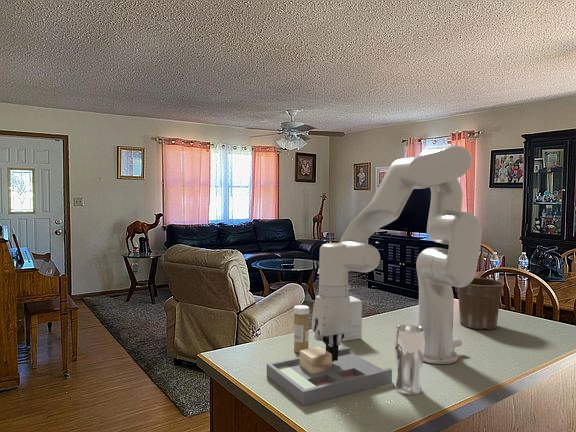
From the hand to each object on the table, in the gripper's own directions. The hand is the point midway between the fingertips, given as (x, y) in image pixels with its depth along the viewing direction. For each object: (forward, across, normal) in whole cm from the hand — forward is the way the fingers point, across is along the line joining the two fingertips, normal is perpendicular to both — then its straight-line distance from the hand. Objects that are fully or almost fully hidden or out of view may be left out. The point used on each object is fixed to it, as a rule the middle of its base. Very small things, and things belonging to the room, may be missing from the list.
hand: (331, 359), depth 114 cm
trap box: (+3, +4, +4) cm, 6 cm away
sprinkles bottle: (+3, 0, -16) cm, 17 cm away
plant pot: (+3, -70, -9) cm, 71 cm away
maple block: (+1, +5, 0) cm, 5 cm away
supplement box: (+3, -20, -20) cm, 29 cm away
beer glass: (+3, -10, +18) cm, 21 cm away
